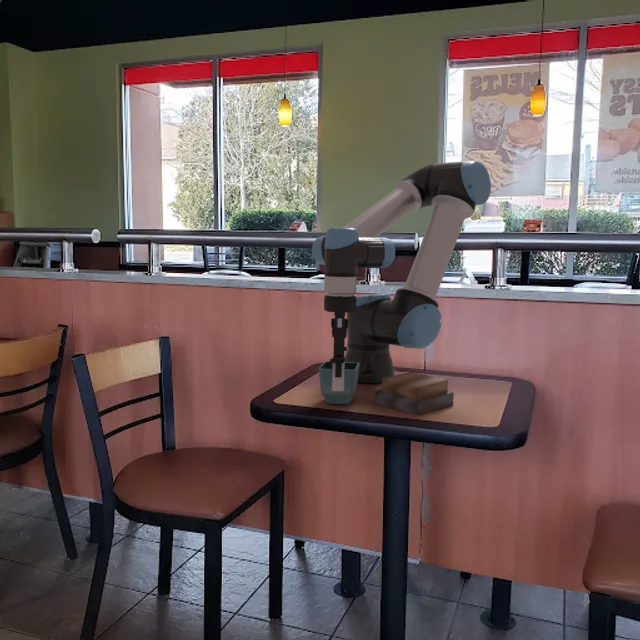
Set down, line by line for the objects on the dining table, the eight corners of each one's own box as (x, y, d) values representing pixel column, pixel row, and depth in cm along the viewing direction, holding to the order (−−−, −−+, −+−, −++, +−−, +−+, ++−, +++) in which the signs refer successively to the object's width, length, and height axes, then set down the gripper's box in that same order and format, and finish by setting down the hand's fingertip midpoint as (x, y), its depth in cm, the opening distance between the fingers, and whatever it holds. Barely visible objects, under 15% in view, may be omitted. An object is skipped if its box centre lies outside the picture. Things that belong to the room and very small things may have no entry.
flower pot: (323, 396, 159) (324, 360, 158) (359, 398, 158) (360, 362, 157) (317, 406, 151) (318, 368, 150) (355, 408, 149) (356, 369, 148)
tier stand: (374, 403, 153) (375, 378, 153) (410, 394, 162) (410, 370, 161) (418, 415, 144) (419, 388, 143) (453, 404, 153) (454, 379, 152)
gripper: (357, 300, 138) (354, 397, 141) (355, 290, 163) (353, 373, 166) (322, 299, 139) (320, 396, 141) (325, 289, 163) (323, 372, 166)
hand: (338, 384), depth 154 cm, fingers open, 13 cm apart
